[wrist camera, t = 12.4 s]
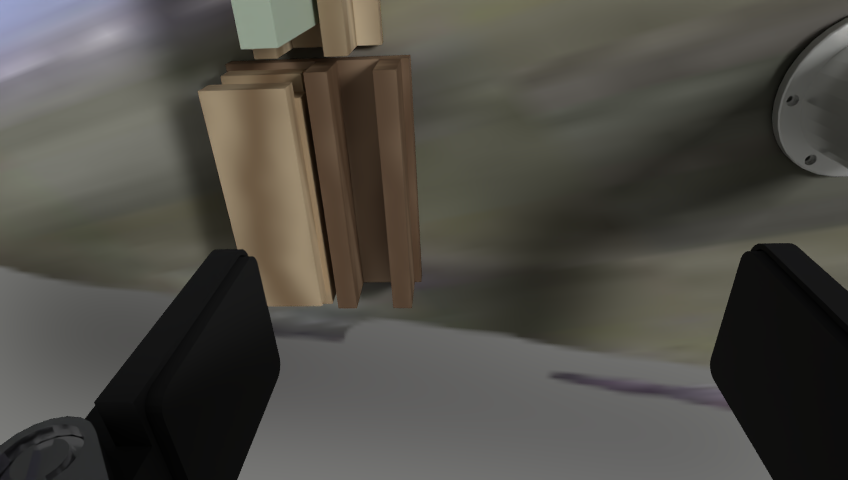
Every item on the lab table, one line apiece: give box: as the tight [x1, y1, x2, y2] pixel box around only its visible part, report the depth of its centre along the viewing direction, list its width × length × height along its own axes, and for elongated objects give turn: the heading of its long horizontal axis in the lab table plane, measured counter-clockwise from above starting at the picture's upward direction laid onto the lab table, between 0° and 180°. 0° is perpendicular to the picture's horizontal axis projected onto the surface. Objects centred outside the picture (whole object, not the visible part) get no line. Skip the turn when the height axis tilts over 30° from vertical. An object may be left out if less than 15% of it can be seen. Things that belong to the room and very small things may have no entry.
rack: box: [198, 55, 422, 308], centre depth 43 cm, size 14×20×7 cm
